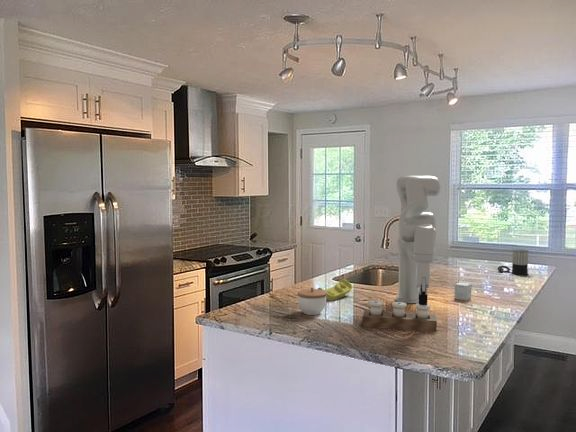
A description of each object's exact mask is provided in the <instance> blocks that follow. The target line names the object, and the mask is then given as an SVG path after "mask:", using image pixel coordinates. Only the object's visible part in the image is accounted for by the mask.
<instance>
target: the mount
mask: <svg viewBox="0 0 576 432" xmlns="http://www.w3.org/2000/svg"><path fill="white" fill-rule="evenodd" d="M361 317H362V318H361V319H362V321H361V323H362V325H361V326H362V327H365V328H381V329H395V330H408V331H409V330H410V331H411V330H412V331H421V332H423V331H424V332H426V331H427V332H437V325H438V323H437V322H438V320H437V316H436V313H429V318H428V319H421V318H417V312H406V311H405V317H394V316H393V311H392V310H391V311H387V310H382V316H373V315H370V309H364V310H363V313H362V316H361Z"/></svg>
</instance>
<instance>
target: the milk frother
mask: <svg viewBox="0 0 576 432" xmlns="http://www.w3.org/2000/svg"><path fill="white" fill-rule="evenodd" d="M528 263H529V250H527V249H521V248H520V249H518V248H517V249H516V248H515V249H512V264H511V265H512V269H511V268H510V267H508V266H506V265H500V266H498V267H497V271H498V272H499V273H509V272H510V271H511V274H512V275H517V276H527V275H529V274H528V267H529V266H528ZM505 269H507V270H505Z"/></svg>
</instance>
